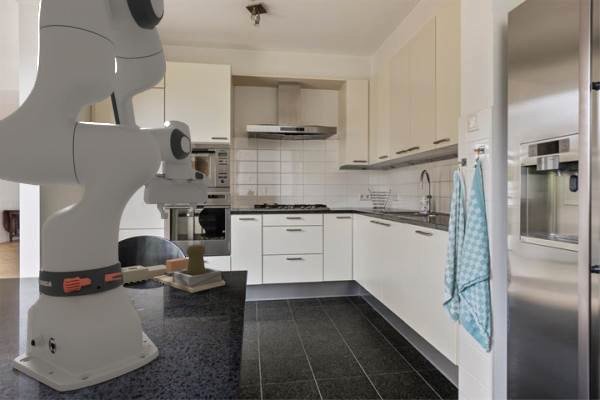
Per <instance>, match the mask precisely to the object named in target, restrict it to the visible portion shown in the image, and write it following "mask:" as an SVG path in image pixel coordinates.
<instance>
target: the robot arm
mask: <svg viewBox="0 0 600 400" xmlns="http://www.w3.org/2000/svg"><path fill="white" fill-rule="evenodd" d="M164 2H165V1H164V0H40V1H39V11H38V24H37V25H38V29H37V31H38V32H37V33H38V37H37V38H38V51H37V52H38V53H37V54H38V55H37V69H36V71H37V72H36V76H35V81H34V84H33V87H32V89H31V90H30V91H31V92H30V93H29V94H28V96H27V97H26V99H25V100H24V101H23V103H21V104H20V106H19V107H18V108H17V109H16V110H15V111H13V112H12V113H10V114H9V115H8V116H6V117H4V118H2V119H1V120H0V180H3V181H6V182H7V181H8V182H13V183H19V184H25V185H31V186H78V187H79V186H81V187H84V193H83V196H82V198H81V199H80V200H79V201H77V202H75V203H74V204H71V205H68V206H66V207H64V208H61V209H59V210H57V211H56V212H54V213H52V214H51V215H49V217H47V219H46V220H45V221H44V223H43V225H42V228H41V255H42V256H41V259H42V261H41V262H42V263H41V264H42V265H41V266H42V267H41V269H40V270H39V271H38V272H39V273H38V274H39V275H38V279H37V281H38V282H37V283H38V291H39V293H41V294H40V296H39V297H38V299H37V300H36V301H35V302H34V303H33V304H31V306H30V307H29V308H28V309H27V321H26V322H27V324H26V325H27V326H26V327H27V328H26V352H24V353H22V354H21V355H19V356H17V357H15V358H14V359H13V363H12V368H13V369H16V370H18V371H20V372H21V373H23V374H25V375H27V376H29V377H30V378H32V379H35V380H37V381H38V382H40V383H43V384H44V385H46V386H48V387H51V389H54V390H55V391H58V392H67V391H74V390H79V389H83V388H86V387H91V386H95V385H98V384H101V383H104V382H107V381H109V380H111V379H115V378H117V377H120V376H122V375H125V374H127V373H130V372H132V371H135V370H138V369H139V368H141V367H143V366H145V365H147V364H149V363H151V362H152V361H154V360H155V359H156V358H157V357H158V356H159V355H160V353H159V349H158V347H157V345H156V344H155V343H154V342H153V341H152V340H151V339H150V337H149V336H148V335H147V334H146V332H145V331H144V330H143V324H142V323H144V322H146V319H147V313H146V310H145V308H138V309H137V308H136V307H135V305H136V301H135V298H133V297H132V298H130V296H129V294H128V292H127V290H126V289H125V287H124V284H123V283H124V279H123V270H122V268H123V267H122V265H121V264H122V263H121V262H120V261H119V240H120V239H119V237H120V235H119V234H120V224H121V221H122V215H123V213H124V211H125V208H126V206H127V204H128V203H129V201H130V200H131V199H132V197H133V196H134V195H135V194H136V193H137V192H138V191H139V190H140V189H141V188H143V186H144V190H143V202H144V203H145V204H146V205H156V208H157V211H159V214H160V218H161V220H166V219H169V212H166V211H165V209H164V208H165V207H166V205H169V204H189V207H190V208H189V211H186V217H187V218H194V215H195V214H194V213H195V211H196V209H197V205H198V204H201V203H202V204H205V203H207V201H208V199H209V193H208V192H209V191H208V185H207V182H206V180H207V174H206V173H203V172H201V171H199V170H197V169H195V168H192V167H193V163H192V161H191V155H192V149H193V148H192V138H191V130H190V126H189V125H188V124H187V123H185V122H183V121H179V120H168V121H165V122H164V123H163V127H141V126H139V125H137V123H136V119H135V111H134V104H133V98H134V97H135V96H137V95H138V94H142V93H144V92H146V91H150V90H151V89H153V88H154V87H156V86H157V85H158V84H159V83H161V81H162V80H163V79H164V77H165V75H166V72H167V62H166V57H165V53H164V52H165V51H164V49H163V45H162V40H161V38H160V37H161V36H160V34H159V31H158V28H157V26H158V25H159V24H160V23H161V21H162V20H163V18H164V12H165V6H164V5H165V3H164ZM109 97H110V101H111V107H112V112H113V116H114V122H115V123H103V122H102V123H100V122H86V121H85V122H84V121H79V120H78V117H79V115H80V113H81V112H82V111H83V110H84V109H86V108H87V107H89V106H93V105H95V104H98V103H100V102H103V101H104V100H106V99H108V98H109ZM160 168H161V173H158V172H159V170H160Z"/></svg>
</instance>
